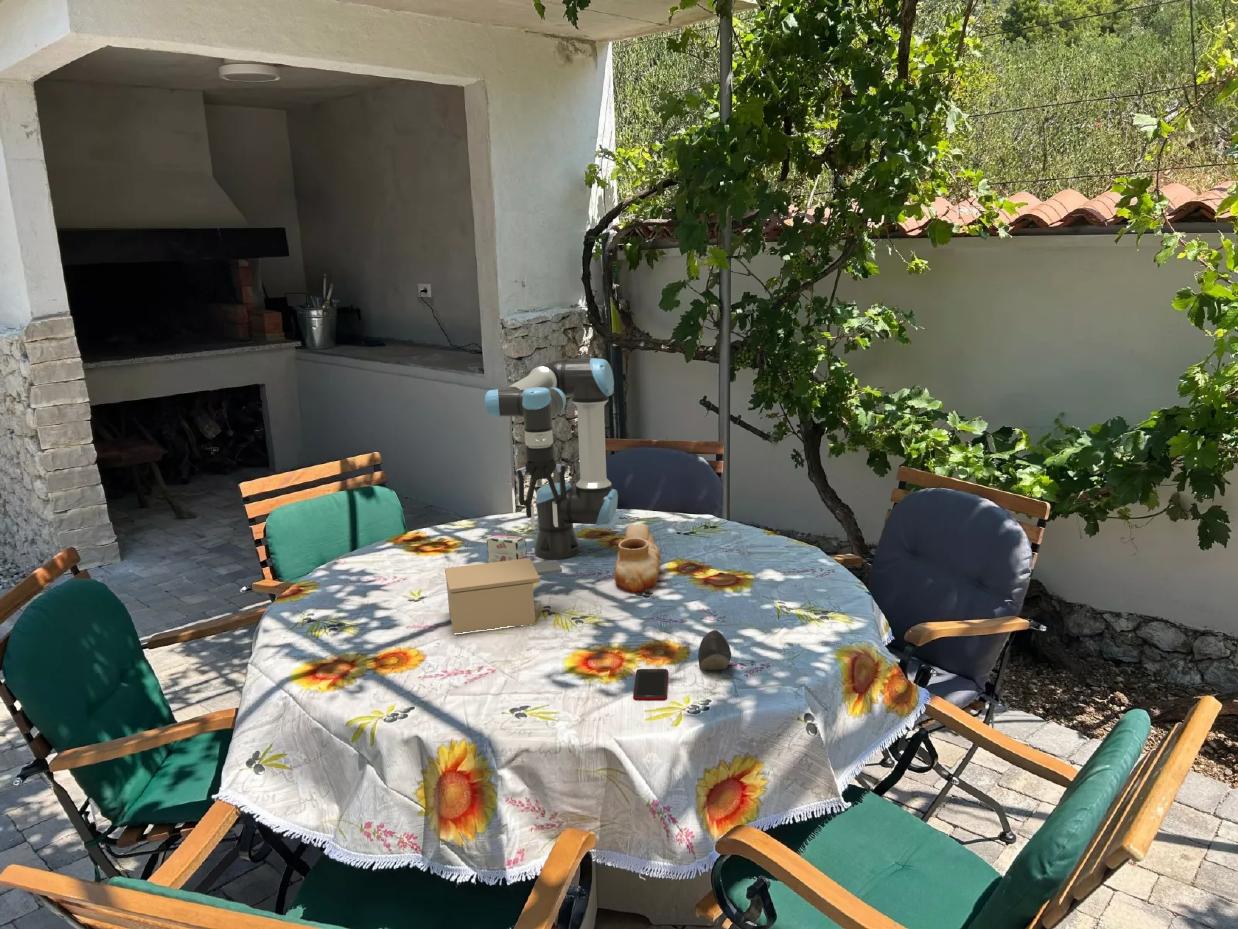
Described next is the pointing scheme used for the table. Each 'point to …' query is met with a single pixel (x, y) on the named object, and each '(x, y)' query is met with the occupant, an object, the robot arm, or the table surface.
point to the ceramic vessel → (637, 560)
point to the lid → (498, 574)
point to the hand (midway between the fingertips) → (544, 526)
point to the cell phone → (651, 685)
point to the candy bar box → (505, 548)
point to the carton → (491, 607)
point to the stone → (714, 652)
